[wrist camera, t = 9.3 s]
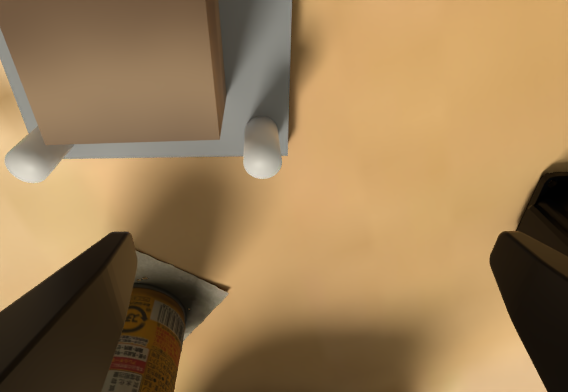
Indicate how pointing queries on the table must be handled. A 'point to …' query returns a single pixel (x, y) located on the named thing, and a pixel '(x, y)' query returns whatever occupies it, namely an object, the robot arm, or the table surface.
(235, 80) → the chassis
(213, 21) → the block
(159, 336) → the condiment
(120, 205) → the table surface
